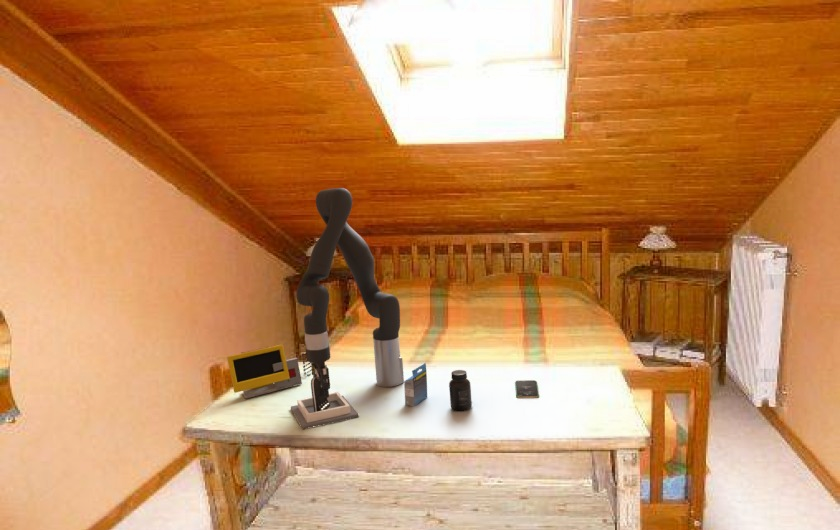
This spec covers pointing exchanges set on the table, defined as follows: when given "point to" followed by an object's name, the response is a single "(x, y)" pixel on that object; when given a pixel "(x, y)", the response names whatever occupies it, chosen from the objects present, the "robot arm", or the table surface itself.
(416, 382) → the label tape box
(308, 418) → the tray
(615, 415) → the table surface
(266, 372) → the toy computer monitor
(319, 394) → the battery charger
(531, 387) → the smartphone
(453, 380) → the supplement bottle
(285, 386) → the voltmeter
